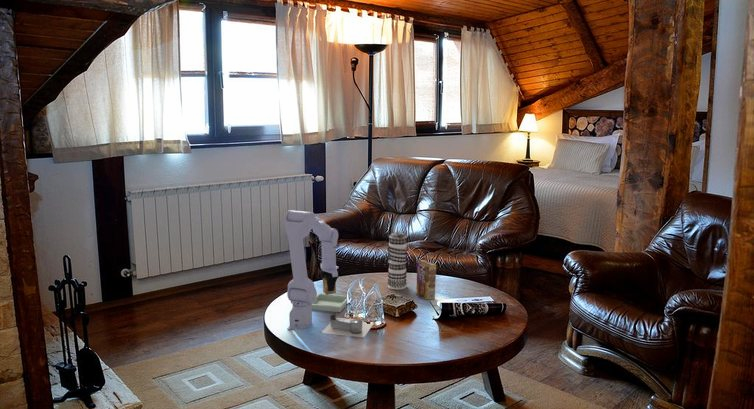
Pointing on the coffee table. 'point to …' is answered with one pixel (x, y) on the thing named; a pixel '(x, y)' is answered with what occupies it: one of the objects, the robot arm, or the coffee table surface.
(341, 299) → the tray
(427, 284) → the candy box
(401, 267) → the patterned cylinder
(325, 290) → the block
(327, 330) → the board
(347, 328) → the crank
